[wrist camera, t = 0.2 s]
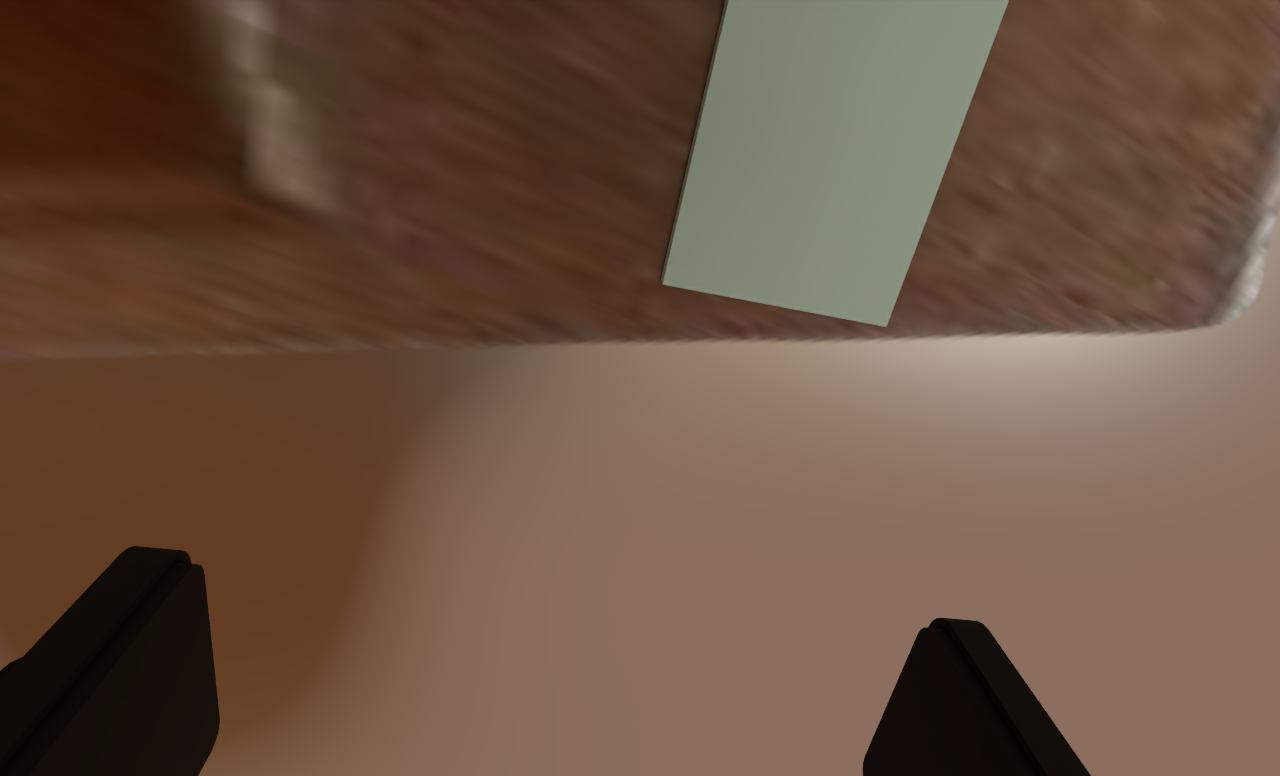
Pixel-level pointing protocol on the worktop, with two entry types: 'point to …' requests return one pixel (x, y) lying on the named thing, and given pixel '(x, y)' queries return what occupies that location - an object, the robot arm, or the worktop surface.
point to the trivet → (824, 148)
